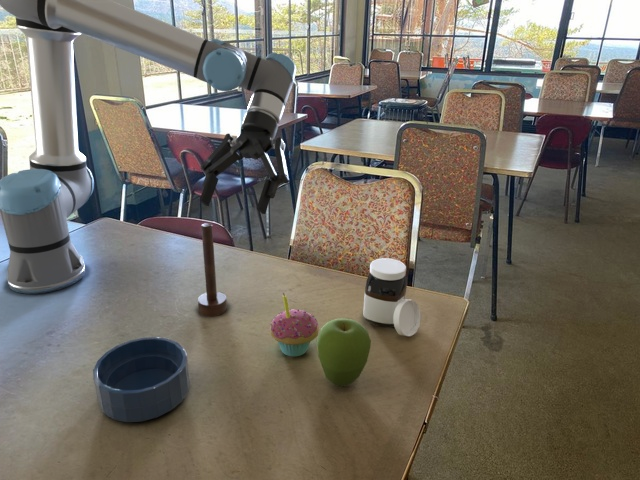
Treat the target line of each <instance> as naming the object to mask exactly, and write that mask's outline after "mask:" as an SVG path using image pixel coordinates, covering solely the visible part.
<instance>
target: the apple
mask: <svg viewBox="0 0 640 480" xmlns="http://www.w3.org/2000/svg"><path fill="white" fill-rule="evenodd" d="M315 343H316V350H317V356H318V359H319V362H320V364H321V367H322V371H323V373H324V376H325V378H326V379H327V380H328V381H329V382H330V383H332V384H333V385H334V386H336V387H345V386H348V385H351V384H353V382H355V381H357V380H358V379H359V378H360V376H361V374H362V372H363V370H364V368H365V366H366V364H367V363H368V359H369V356H370V355H369V354H370V351H371V346H372V340H371V337H370V333H369V331H368V330H367V328H366V327H365V326H363V325H362V324H361V323H360V322H358V321H357V320H354V319H351V318H335V319H332V320H330V321H328V322H326V323H325V324H324V325H323V326H322V327H321V328H320V331H319V332H318V336H317V338H316V342H315Z"/></svg>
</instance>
